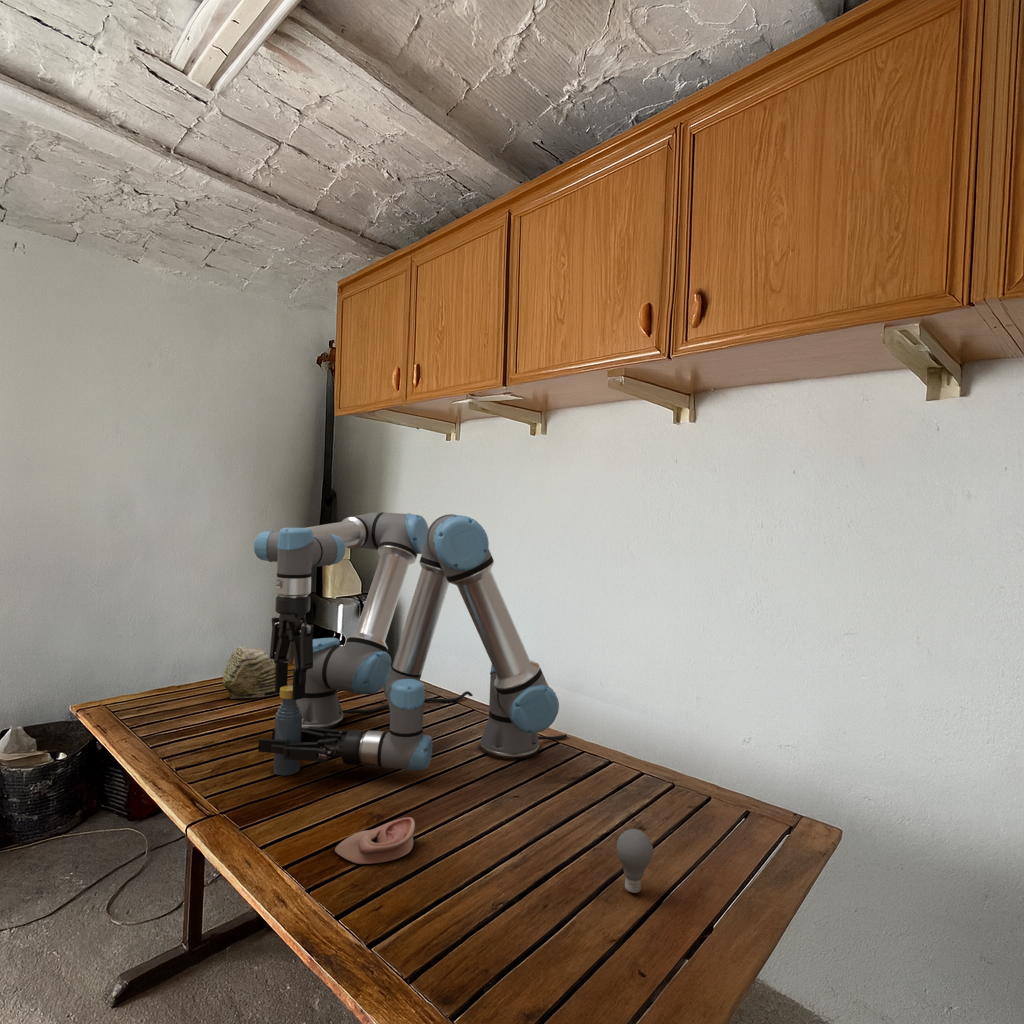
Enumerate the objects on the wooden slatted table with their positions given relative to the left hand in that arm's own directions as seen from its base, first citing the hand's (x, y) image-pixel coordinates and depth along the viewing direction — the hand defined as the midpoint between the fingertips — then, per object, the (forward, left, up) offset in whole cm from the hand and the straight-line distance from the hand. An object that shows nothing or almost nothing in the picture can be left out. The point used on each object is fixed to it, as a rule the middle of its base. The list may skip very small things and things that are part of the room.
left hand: (289, 694), depth 146 cm
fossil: (-23, -55, -17) cm, 62 cm away
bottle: (0, 0, -17) cm, 17 cm away
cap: (0, 0, +1) cm, 1 cm away
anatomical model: (+7, +40, -17) cm, 45 cm away
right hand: (+3, -4, -11) cm, 12 cm away
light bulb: (-14, +81, -17) cm, 84 cm away
